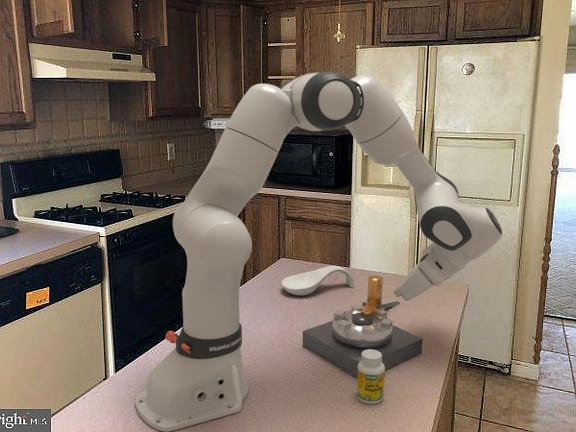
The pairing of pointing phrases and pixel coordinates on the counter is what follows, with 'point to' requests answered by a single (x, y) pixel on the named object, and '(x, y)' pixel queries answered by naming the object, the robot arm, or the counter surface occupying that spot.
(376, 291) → the rotary crank dial
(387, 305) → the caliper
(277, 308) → the counter surface
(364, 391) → the supplement bottle
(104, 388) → the counter surface
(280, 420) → the counter surface
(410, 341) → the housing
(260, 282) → the counter surface
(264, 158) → the robot arm
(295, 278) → the spoon rest
